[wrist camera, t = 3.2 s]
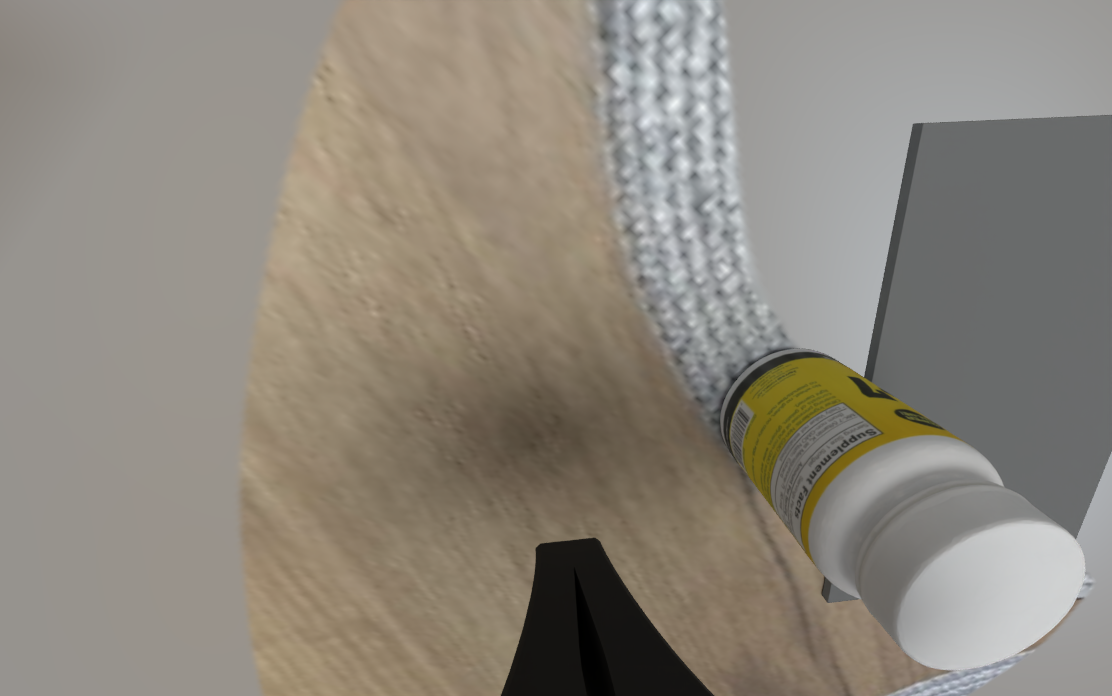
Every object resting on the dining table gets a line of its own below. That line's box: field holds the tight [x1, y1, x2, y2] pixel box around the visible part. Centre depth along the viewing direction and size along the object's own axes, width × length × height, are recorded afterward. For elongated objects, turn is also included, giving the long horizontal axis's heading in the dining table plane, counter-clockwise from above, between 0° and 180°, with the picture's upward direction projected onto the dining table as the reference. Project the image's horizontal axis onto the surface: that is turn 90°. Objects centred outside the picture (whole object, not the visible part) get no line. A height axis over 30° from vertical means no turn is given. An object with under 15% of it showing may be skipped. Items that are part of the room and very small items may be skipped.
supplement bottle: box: [720, 349, 1085, 670], centre depth 14 cm, size 5×5×8 cm
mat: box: [822, 115, 1112, 603], centre depth 19 cm, size 18×10×1 cm, turn 2°
